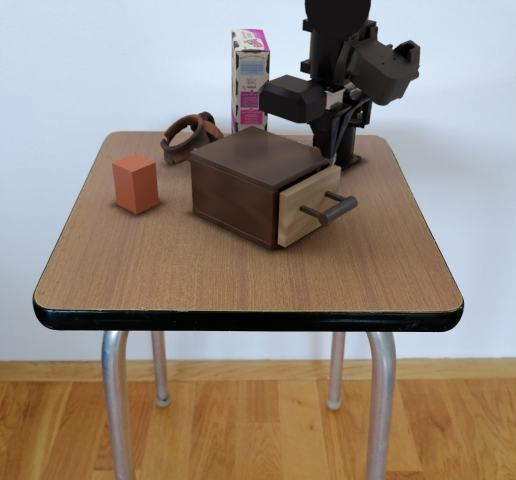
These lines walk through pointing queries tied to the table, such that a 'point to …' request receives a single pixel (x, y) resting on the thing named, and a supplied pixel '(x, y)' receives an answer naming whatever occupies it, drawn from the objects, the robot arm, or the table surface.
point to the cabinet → (248, 180)
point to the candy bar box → (248, 78)
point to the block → (135, 183)
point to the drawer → (310, 204)
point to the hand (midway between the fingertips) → (327, 157)
